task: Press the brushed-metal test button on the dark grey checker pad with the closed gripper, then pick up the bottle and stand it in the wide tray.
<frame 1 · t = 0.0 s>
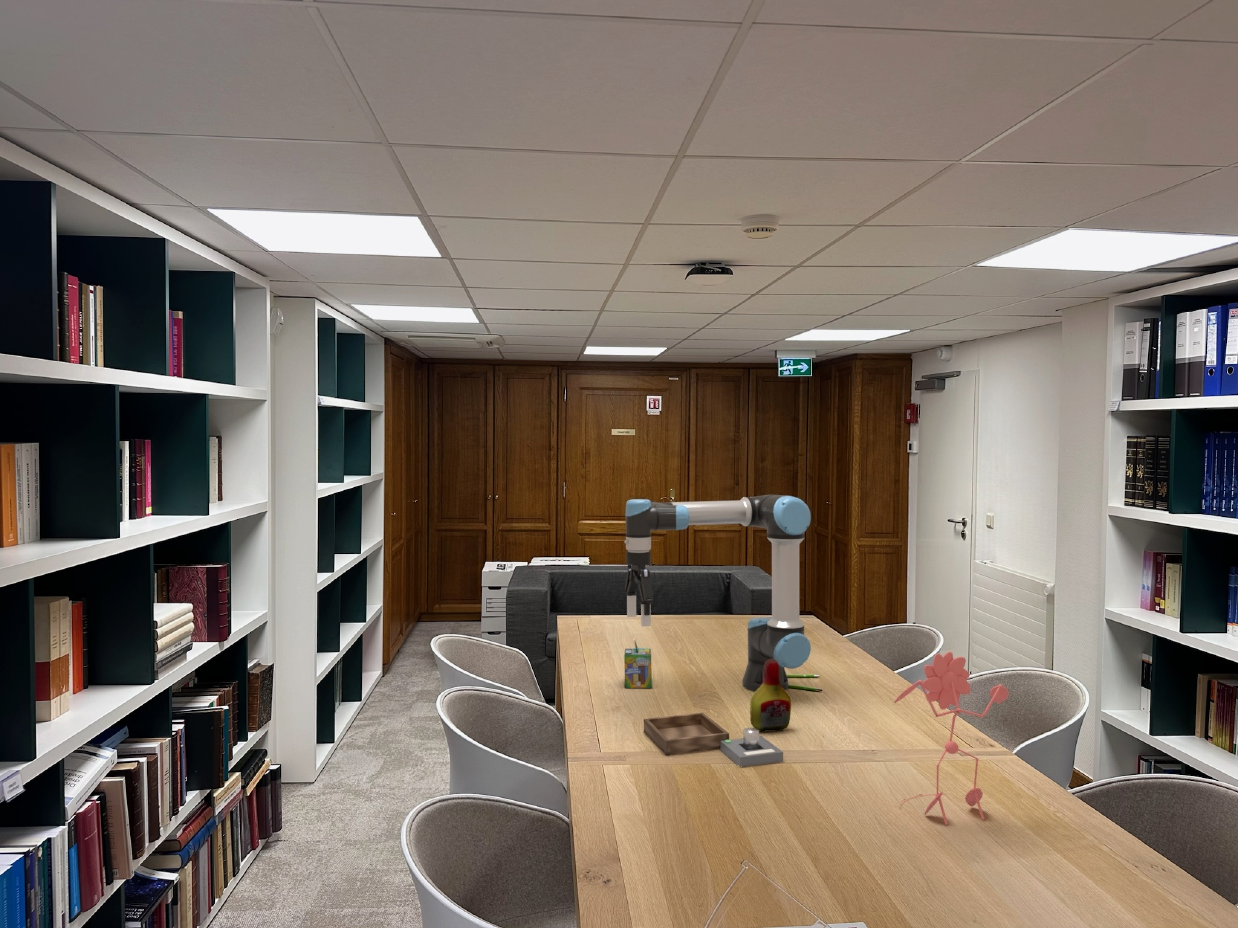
hand: (638, 621, 244), 28 cm above the table, fingers open, 13 cm apart
chalk box: (638, 685, 274), on the table
tray: (685, 739, 222), on the table
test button: (751, 738, 210), point 4 cm above the table, slide at 0.0 cm
bottle: (770, 730, 230), on the table
figurine: (945, 809, 179), on the table
checker: (751, 755, 210), on the table
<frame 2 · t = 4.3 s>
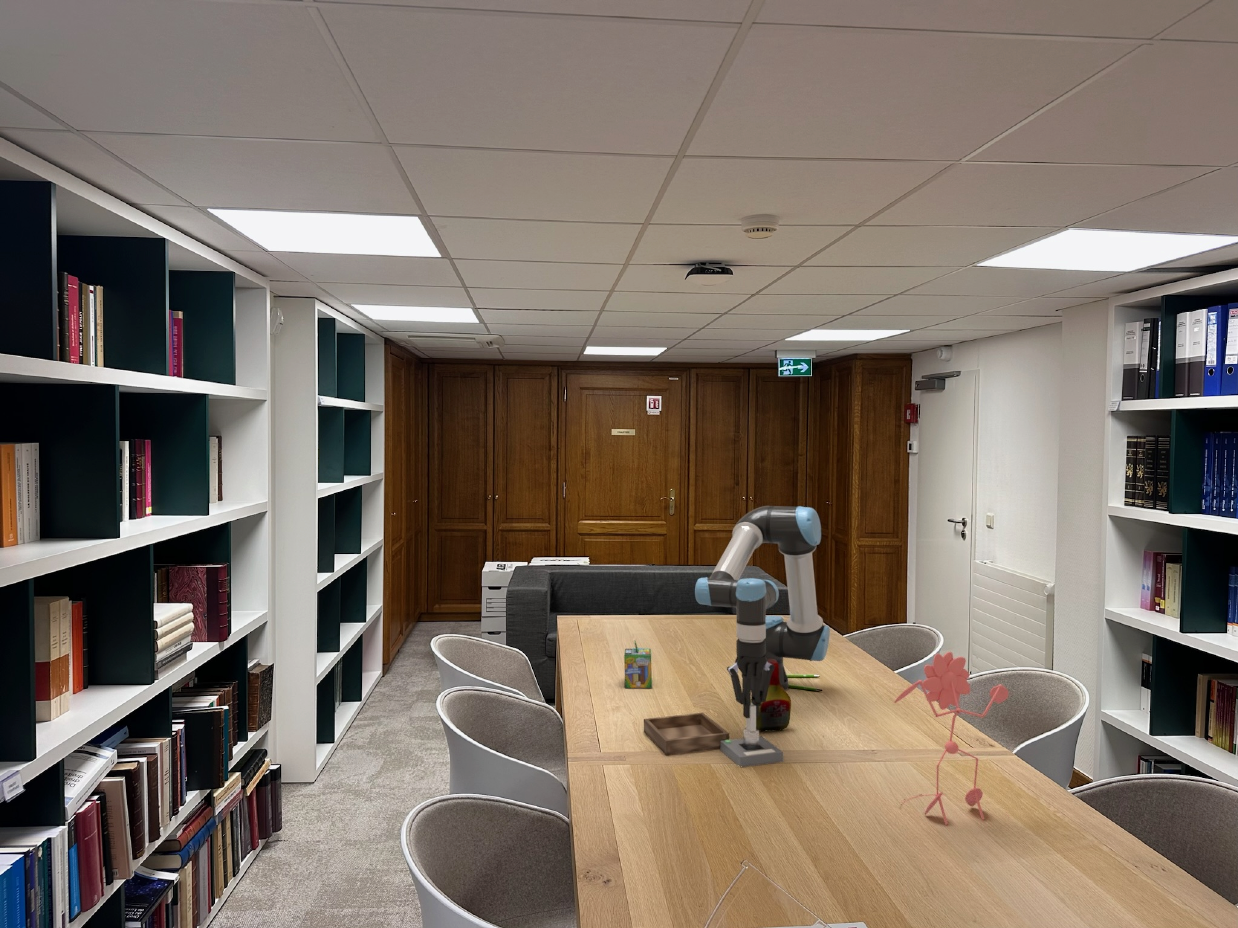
hand: (751, 729, 210), 7 cm above the table, fingers closed
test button: (751, 738, 210), point 4 cm above the table, slide at -0.1 cm, touching gripper
everything else where it was.
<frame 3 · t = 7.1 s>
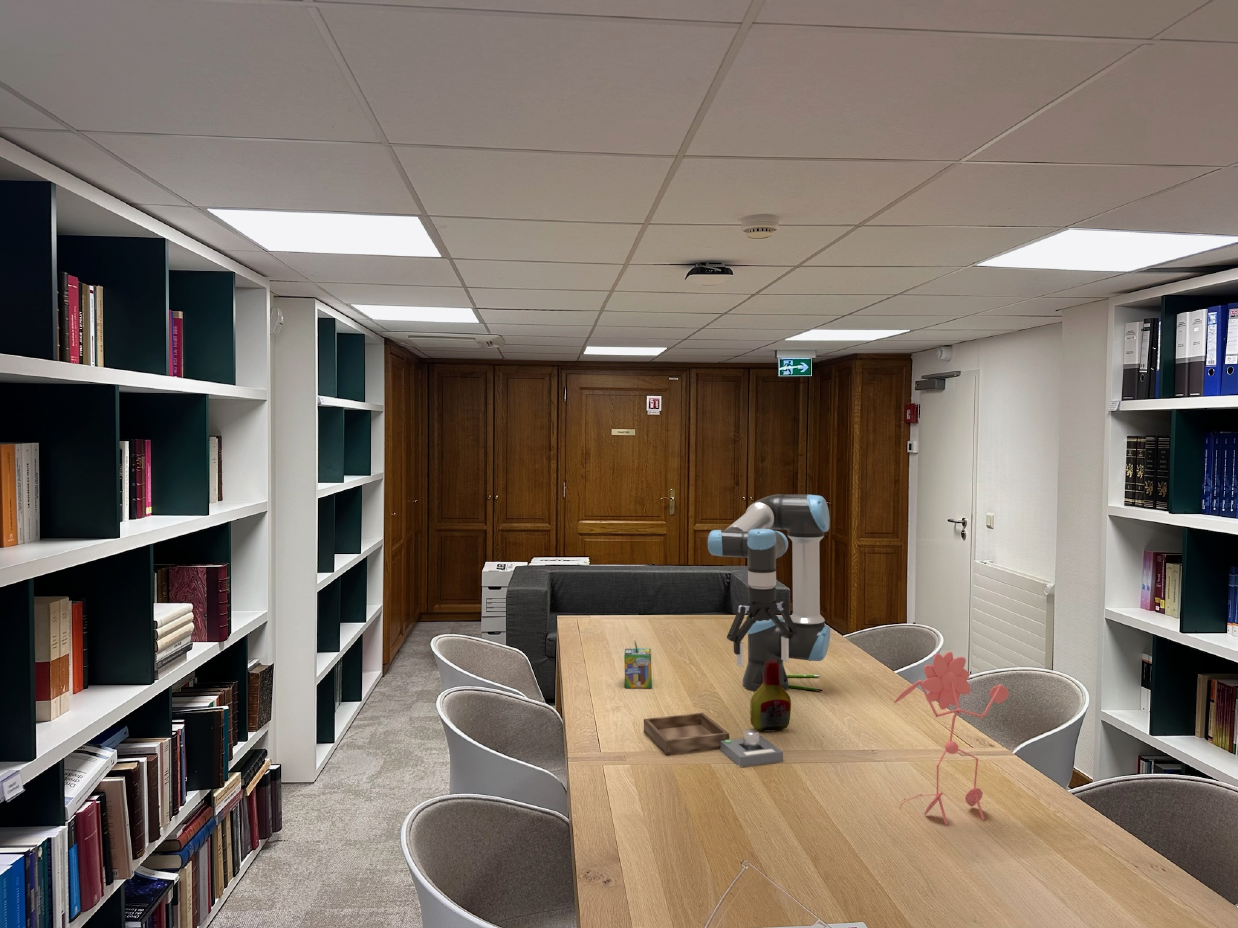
hand: (762, 663, 221), 21 cm above the table, fingers open, 13 cm apart
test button: (751, 740, 210), point 4 cm above the table, slide at -0.5 cm
everything else where it was.
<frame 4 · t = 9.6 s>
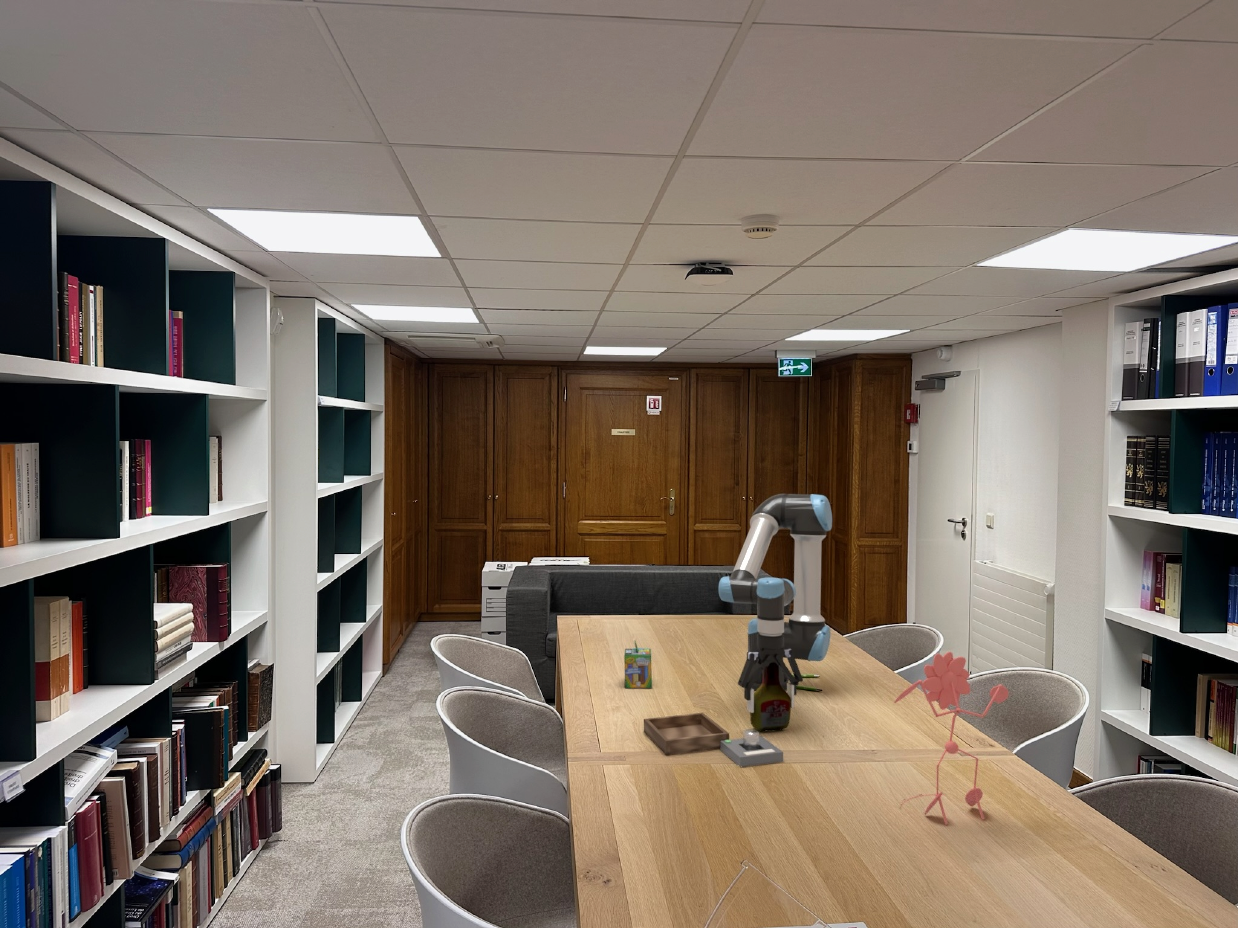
hand: (770, 708, 230), 6 cm above the table, fingers closed on bottle, 12 cm apart
bottle: (770, 730, 230), on the table, touching gripper
everything else where it was.
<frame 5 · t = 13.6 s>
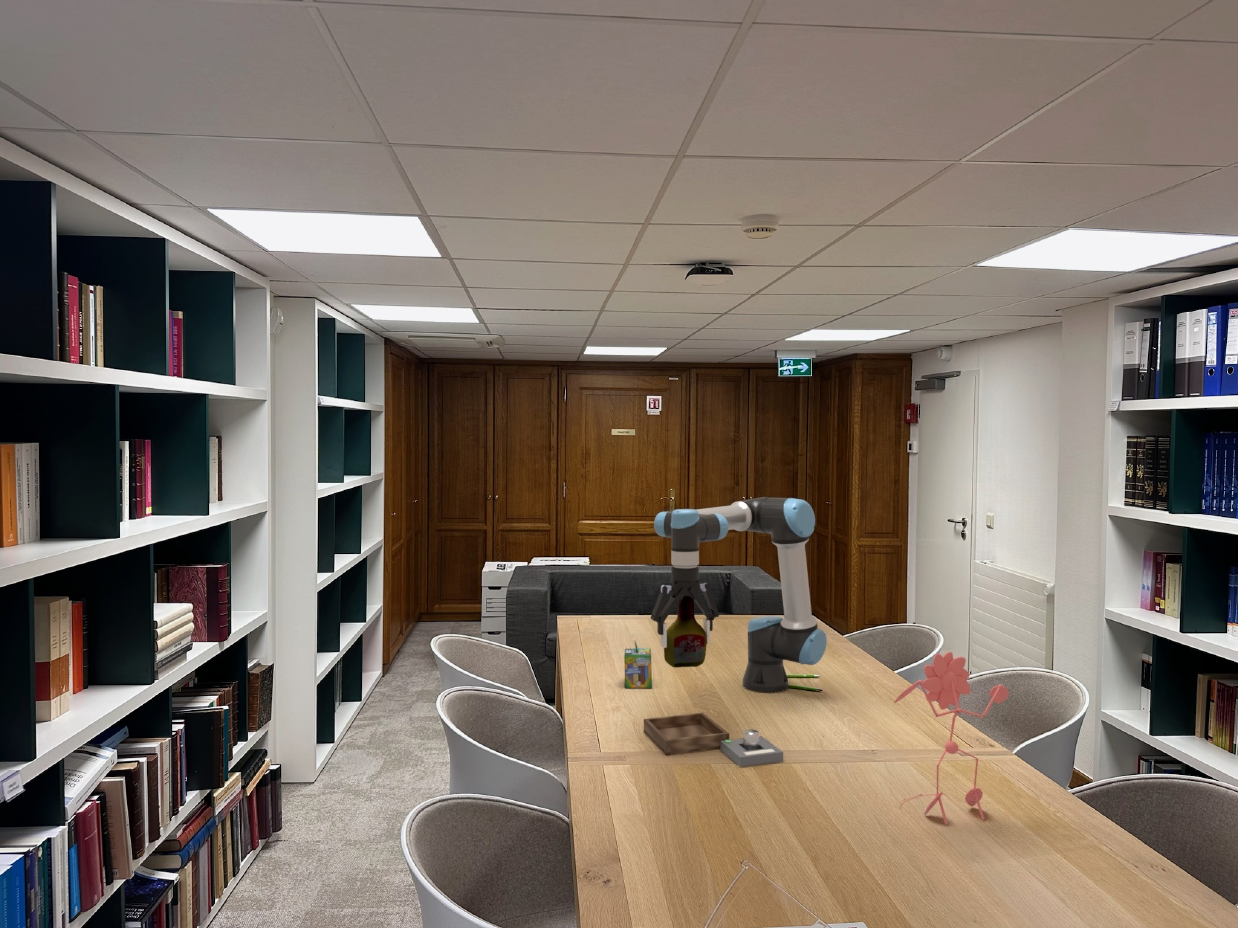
hand: (685, 644, 222), 26 cm above the table, fingers closed on bottle, 12 cm apart
bottle: (685, 666, 222), point 20 cm above the table, touching gripper
everything else where it was.
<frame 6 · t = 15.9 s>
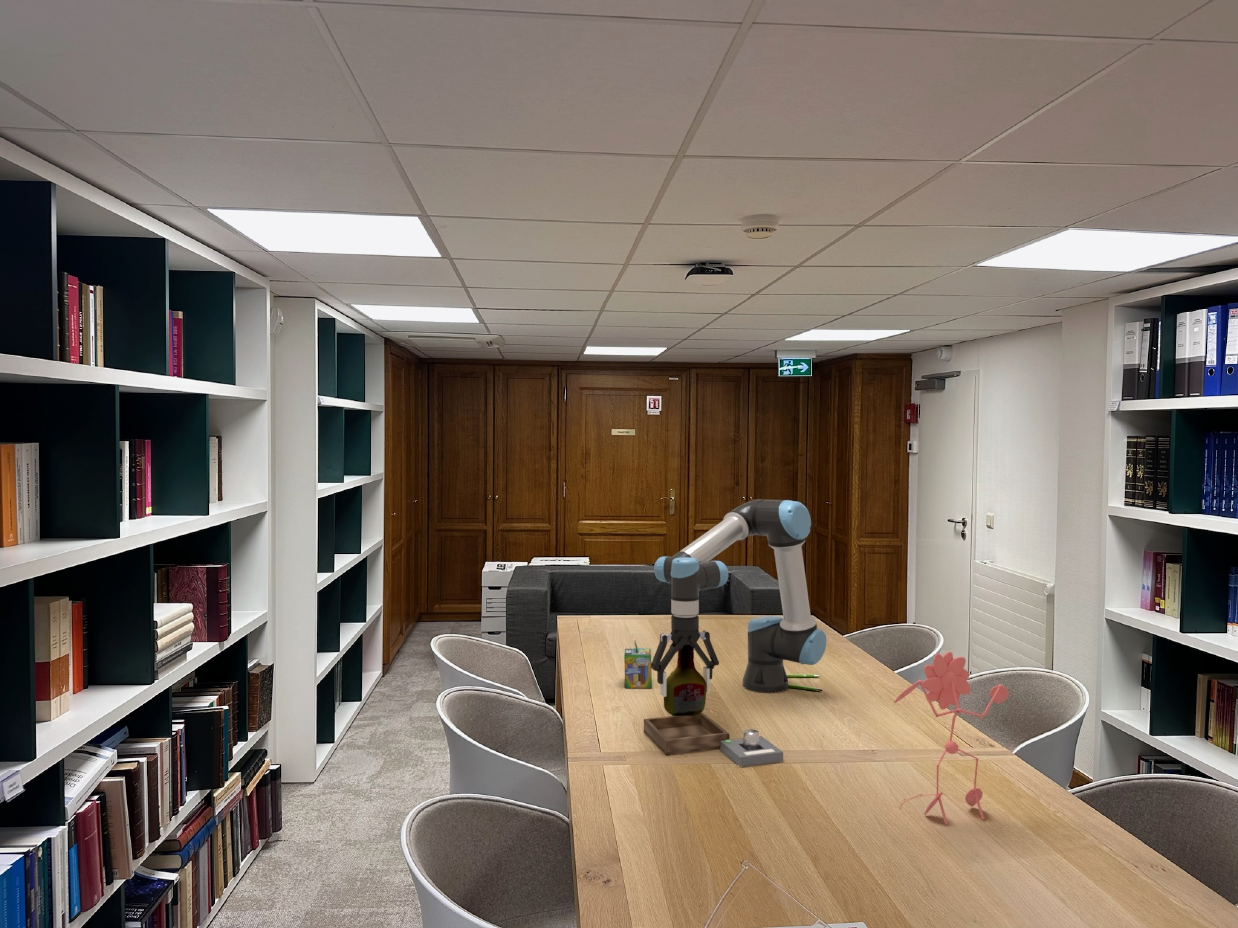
hand: (685, 693, 222), 13 cm above the table, fingers closed on bottle, 12 cm apart
bottle: (685, 715, 222), point 7 cm above the table, touching gripper
everything else where it was.
when the fingers open (8 cm above the table, at t = 17.6 s): bottle drops 1 cm, resting on tray.
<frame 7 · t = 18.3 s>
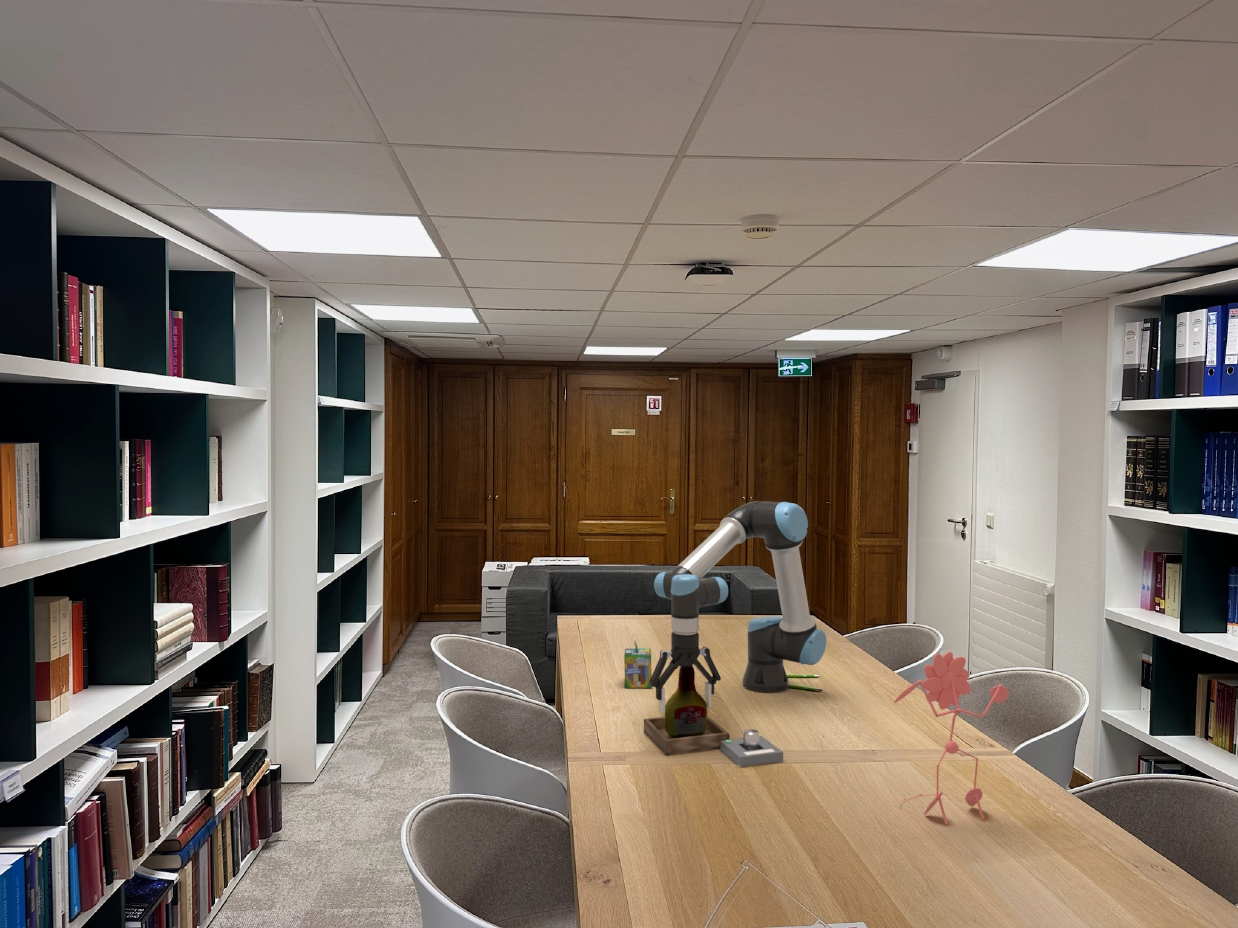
hand: (685, 708, 222), 9 cm above the table, fingers open, 13 cm apart
bottle: (686, 737, 222), point 1 cm above the table, touching tray
everything else where it was.
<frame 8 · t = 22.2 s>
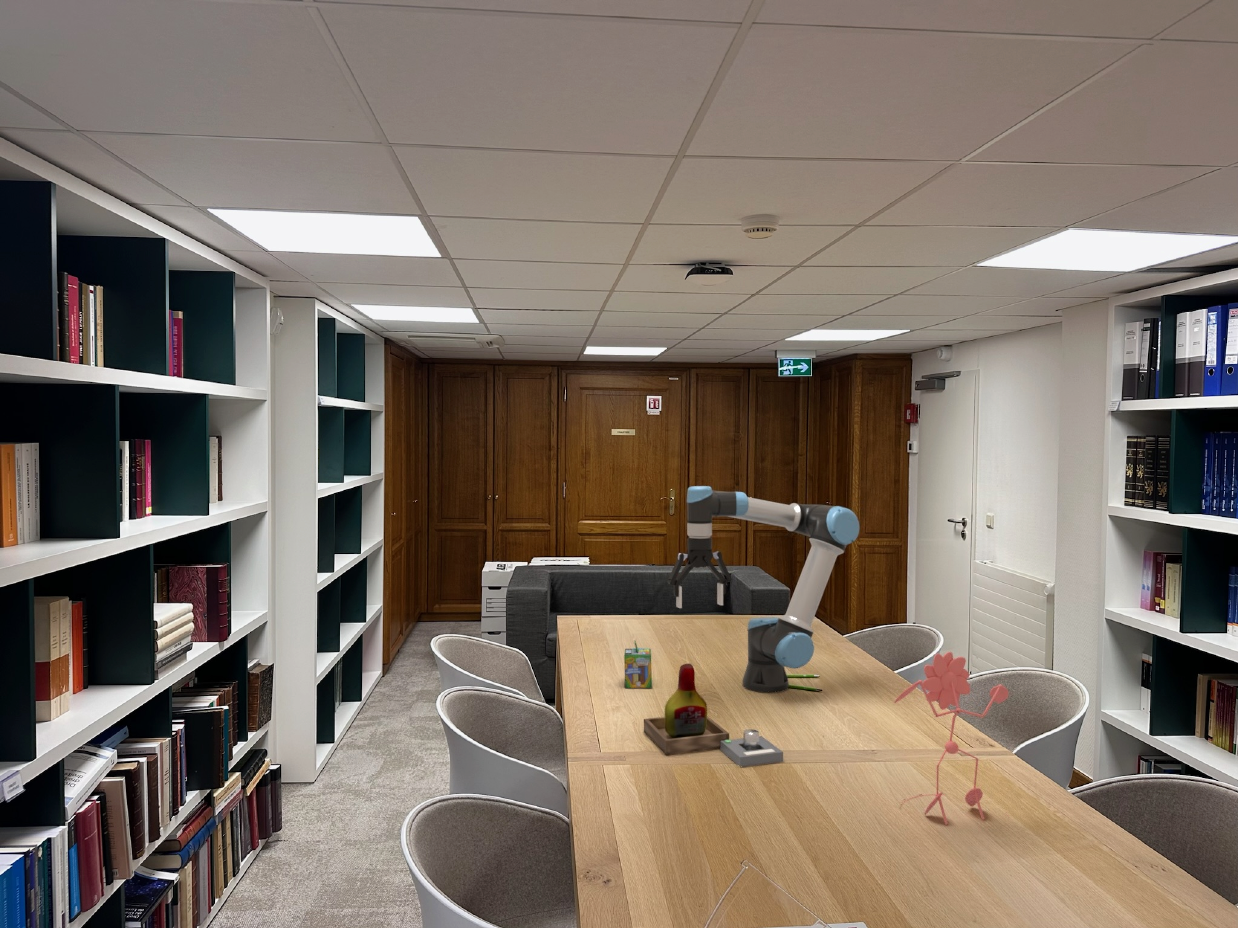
hand: (699, 606, 248), 32 cm above the table, fingers open, 13 cm apart
nothing on the table moved.
at the end: bottle inside the target area on the tray (0.2 cm from its centre), point 0.6 cm above the tray's base; bottle tilted 0°; the gripper is holding nothing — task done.
